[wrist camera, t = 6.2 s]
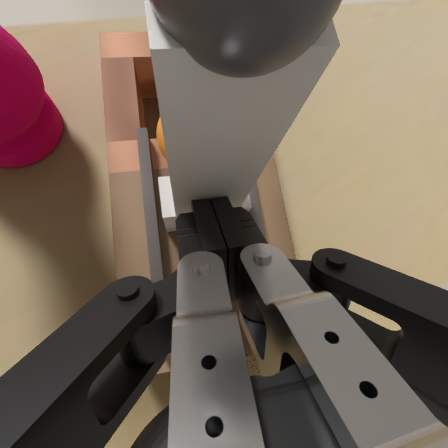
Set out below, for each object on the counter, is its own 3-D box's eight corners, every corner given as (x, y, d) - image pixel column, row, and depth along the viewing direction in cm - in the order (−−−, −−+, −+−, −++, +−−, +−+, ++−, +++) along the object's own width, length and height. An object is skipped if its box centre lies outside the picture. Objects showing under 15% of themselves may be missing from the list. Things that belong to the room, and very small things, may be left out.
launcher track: (137, 361, 17) (117, 389, 12) (114, 78, 22) (92, 14, 17) (287, 332, 19) (324, 346, 14) (236, 73, 24) (250, 14, 19)
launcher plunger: (168, 240, 15) (26, -141, 2) (162, 190, 16) (27, -363, 3) (241, 231, 16) (529, -100, 3) (233, 182, 17) (425, -285, 3)
